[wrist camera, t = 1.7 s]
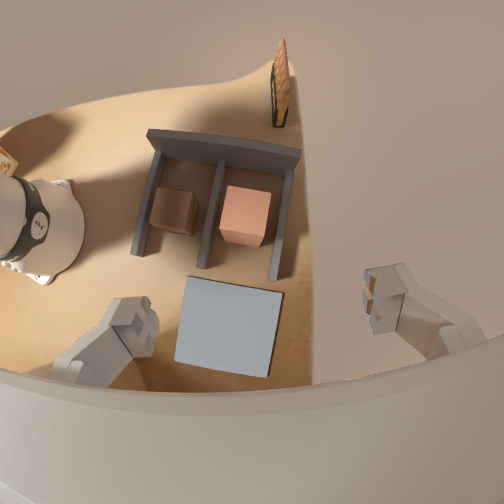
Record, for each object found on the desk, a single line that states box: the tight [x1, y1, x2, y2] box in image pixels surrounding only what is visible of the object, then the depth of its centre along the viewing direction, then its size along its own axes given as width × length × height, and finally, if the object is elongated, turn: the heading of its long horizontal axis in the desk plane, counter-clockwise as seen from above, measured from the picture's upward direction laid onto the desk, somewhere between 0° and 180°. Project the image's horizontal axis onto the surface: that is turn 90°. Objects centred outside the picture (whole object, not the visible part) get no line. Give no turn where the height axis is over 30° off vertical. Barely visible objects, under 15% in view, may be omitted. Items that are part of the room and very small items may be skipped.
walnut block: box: [149, 187, 199, 236], centre depth 40 cm, size 5×5×6 cm
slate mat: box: [174, 276, 283, 378], centre depth 41 cm, size 14×13×1 cm
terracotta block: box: [219, 186, 271, 247], centre depth 38 cm, size 5×5×11 cm
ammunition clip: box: [270, 39, 290, 127], centre depth 40 cm, size 11×2×12 cm, turn 1°
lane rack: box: [130, 129, 301, 281], centre depth 39 cm, size 21×17×8 cm
